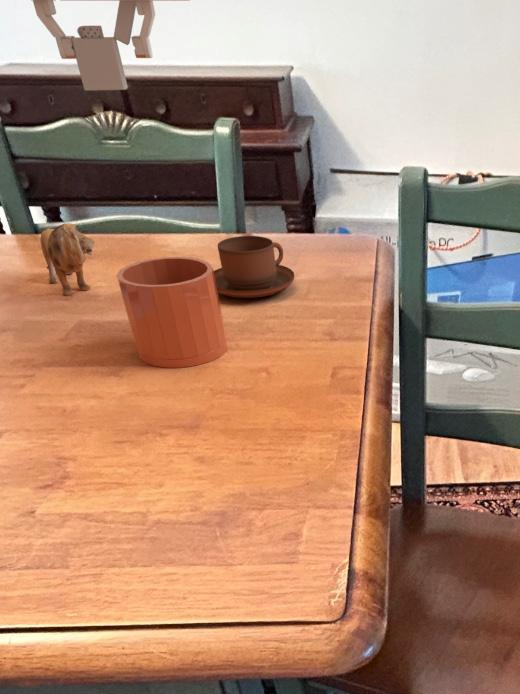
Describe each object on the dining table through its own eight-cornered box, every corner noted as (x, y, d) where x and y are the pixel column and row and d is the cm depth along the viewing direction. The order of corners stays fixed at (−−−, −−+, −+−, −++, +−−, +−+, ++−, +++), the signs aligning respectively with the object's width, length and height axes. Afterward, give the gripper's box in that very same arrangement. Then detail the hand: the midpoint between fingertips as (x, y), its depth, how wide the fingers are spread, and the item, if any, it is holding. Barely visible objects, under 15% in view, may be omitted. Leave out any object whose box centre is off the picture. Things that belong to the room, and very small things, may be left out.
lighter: (84, 90, 76) (57, -10, 71) (87, 88, 78) (61, -10, 72) (155, 89, 77) (133, -10, 72) (156, 86, 79) (136, -11, 73)
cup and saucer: (238, 272, 109) (230, 227, 105) (310, 282, 106) (305, 236, 102) (191, 298, 100) (181, 250, 96) (268, 310, 98) (261, 261, 93)
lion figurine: (112, 293, 102) (92, 223, 96) (75, 303, 99) (52, 230, 93) (66, 268, 109) (45, 201, 103) (30, 276, 106) (6, 208, 100)
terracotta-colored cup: (131, 369, 83) (108, 288, 77) (146, 335, 91) (126, 258, 85) (223, 365, 84) (207, 284, 78) (230, 331, 92) (216, 255, 86)
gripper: (-74, -137, 63) (-9, 62, 72) (172, -132, 65) (205, 60, 75) (-48, -131, 68) (10, 55, 77) (180, -126, 70) (211, 54, 79)
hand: (108, 58), depth 76 cm, fingers closed on lighter, 6 cm apart
